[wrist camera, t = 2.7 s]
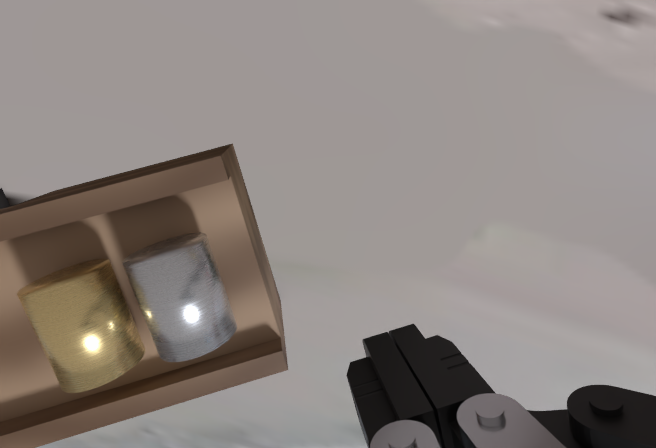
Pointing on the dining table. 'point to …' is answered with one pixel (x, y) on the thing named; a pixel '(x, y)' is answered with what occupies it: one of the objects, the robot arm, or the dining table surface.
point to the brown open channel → (117, 244)
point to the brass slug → (83, 325)
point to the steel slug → (181, 296)
